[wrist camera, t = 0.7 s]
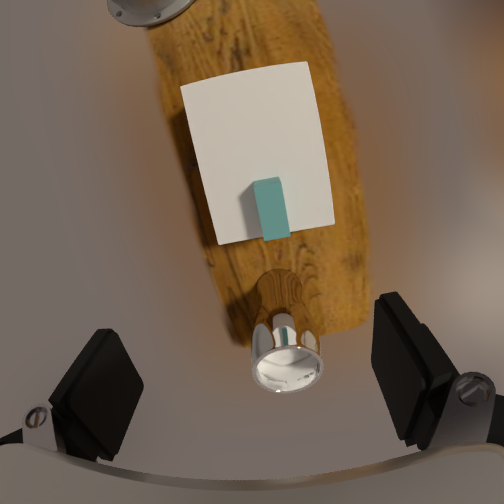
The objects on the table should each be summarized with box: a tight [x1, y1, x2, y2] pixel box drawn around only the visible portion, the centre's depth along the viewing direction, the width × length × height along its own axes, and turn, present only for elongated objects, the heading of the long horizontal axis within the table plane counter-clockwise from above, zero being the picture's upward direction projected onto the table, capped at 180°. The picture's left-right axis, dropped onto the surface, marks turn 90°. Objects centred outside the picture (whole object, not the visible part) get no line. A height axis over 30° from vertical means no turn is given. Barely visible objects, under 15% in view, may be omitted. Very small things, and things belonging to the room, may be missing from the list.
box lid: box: [180, 61, 335, 245], centre depth 25 cm, size 16×12×4 cm
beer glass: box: [251, 269, 324, 393], centre depth 32 cm, size 7×7×15 cm
